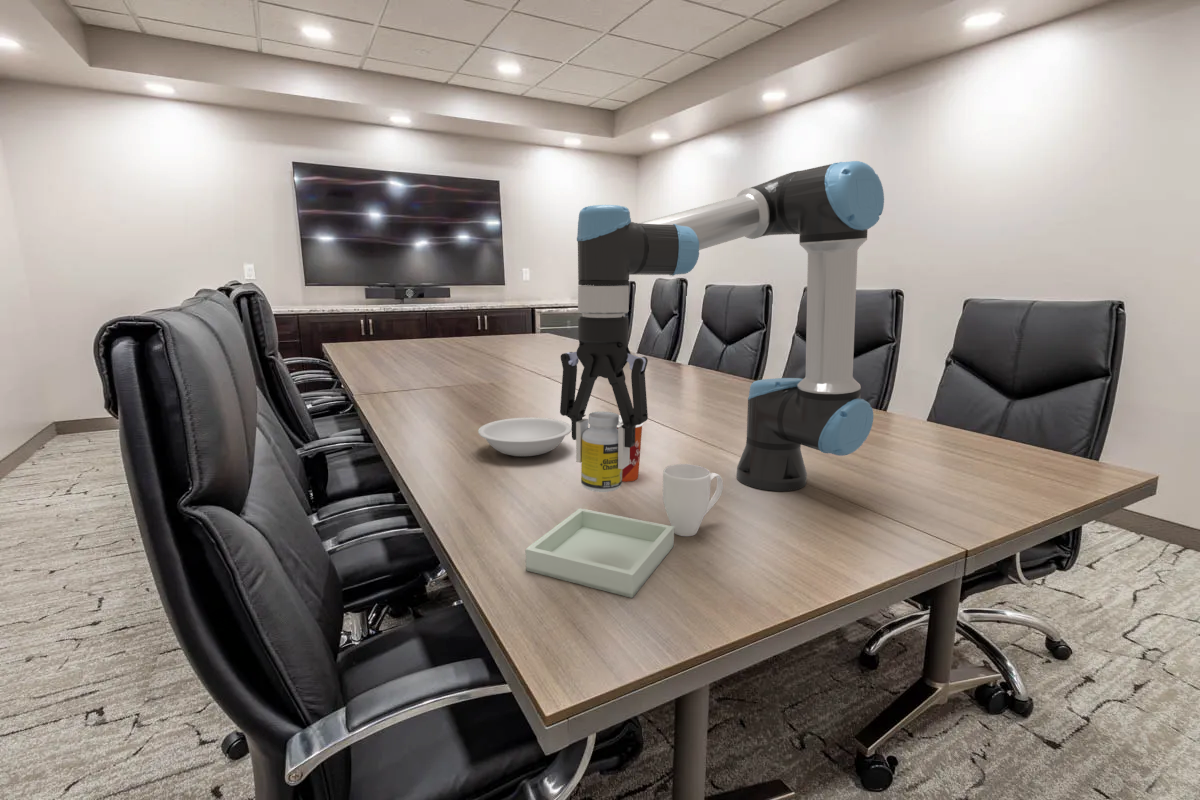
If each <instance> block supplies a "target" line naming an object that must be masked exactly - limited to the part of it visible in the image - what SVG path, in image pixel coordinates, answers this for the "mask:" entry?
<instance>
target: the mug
mask: <svg viewBox="0 0 1200 800" xmlns="http://www.w3.org/2000/svg"><path fill="white" fill-rule="evenodd" d="M663 469H664V470H663V473H662V501H663V506H664V508H665V509H664V510H665V512H666V515H667V517H668V518H667V519H668V521H669V523H670V524H669V525H670V526H674V535H677V536H681V537H691V536H692V537H693V536H695V535H697V533H698V531H699V529H700V526H701V524H702V522H703V519H704V517H705V515H707V513H709V511H710V510H711V509H712V508H713V507H714V505H715V504H716V503H717V502H718V500H719V499H720V497H721V495H722V493H723V489H724V481H723V478H722V476H721V475H720V474H718V473H717V472H711V471H710V470H709V469H708V468H706V467H704V466H701V465H697V464H690V463H677V464H672V465H668V466H667V467H665V468H663ZM715 478H716V488H715V492H714V494H713V495H712V496H711V482H712V480H714V479H715ZM710 497H711V498H710Z"/></svg>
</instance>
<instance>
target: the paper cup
mask: <svg viewBox="0 0 1200 800" xmlns="http://www.w3.org/2000/svg"><path fill="white" fill-rule="evenodd" d="M618 415H619V424H618V425H617V429H618V427H620V426H622V425H623V422H622V418H621V415H620V414H618ZM644 423H645V422H643V423H642V424H640V425H636V427H635V444H634V446H632V447H631V448H630V464H629V465H628V466H626V467H625V468H624V469H622V483H623V482H625V483H628V482H635V481H637V480H639V479H638V478H639V471H640V459H641V448H642V434H643V432H642V431H643V426H644V425H645V424H644Z"/></svg>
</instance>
